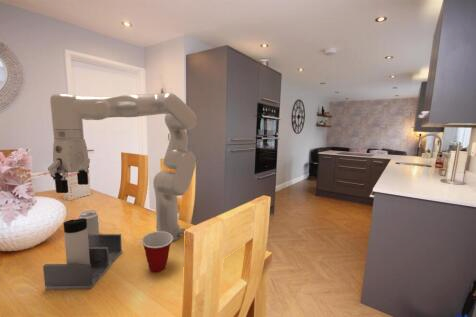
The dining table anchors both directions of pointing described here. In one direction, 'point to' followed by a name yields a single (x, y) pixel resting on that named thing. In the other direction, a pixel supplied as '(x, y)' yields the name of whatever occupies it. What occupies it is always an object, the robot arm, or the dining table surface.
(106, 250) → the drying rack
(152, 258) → the plastic cup
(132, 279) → the dining table surface
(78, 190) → the coffeecake box
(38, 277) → the dining table surface
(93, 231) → the can
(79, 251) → the travel mug
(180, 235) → the robot arm
